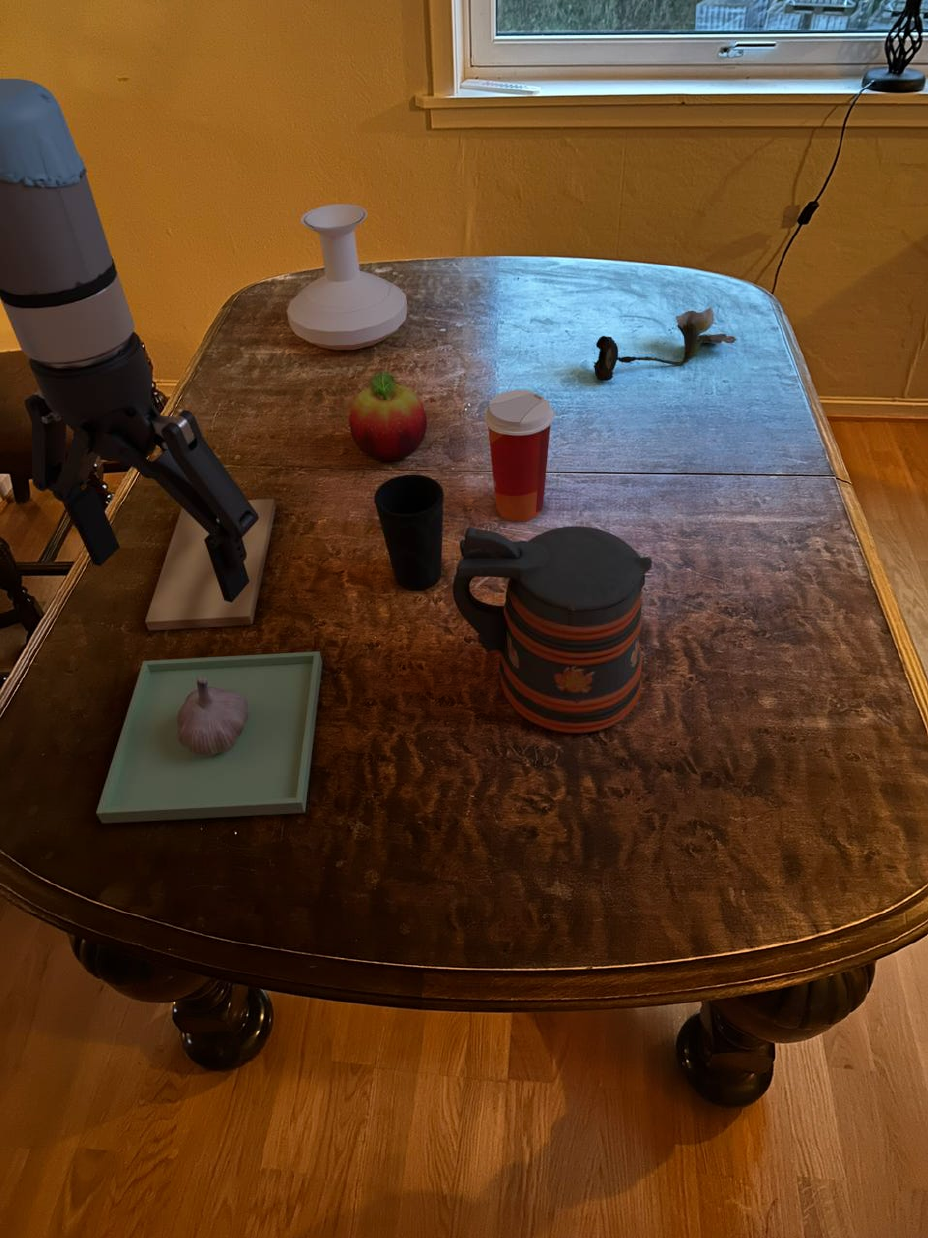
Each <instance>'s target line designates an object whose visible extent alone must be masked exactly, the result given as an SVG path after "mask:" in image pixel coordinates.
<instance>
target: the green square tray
mask: <svg viewBox="0 0 928 1238" xmlns="http://www.w3.org/2000/svg"><path fill="white" fill-rule="evenodd" d="M322 667H323V659H322V655H321V652H320V651H300V652H284V653H282V652H281V653H264V654H247V655H246V654H245V655H244V654H243V655H228V656H209V657H192V658H176V659H175V658H173V659H156V660H143V661H142V665H141V667H140V671H139V674H138V677H137V680H136V682H135V686H134V690H133V693H132V697H131V699H130V702H129V706H128V709H127V712H126V716H125V719H124V722H123V726H122V728H121V732H120V735H119V738H118V742H117V745H116V748H115V751H114V754H113V757H112V760H111V764H110V768H109V770H108V774H107V776H106V780H105V784H104V785H103V786H104V787H103V789H102V792H101V796H100V799H99V803H98V805H97V808H96V812H95V814H96V816H97V817H98V819H99V820H100V822H101V824H120V823H138V822H139V823H140V822H157V821H177V820H198V819H216V818H217V819H218V818H234V817H254V816H273V815H274V816H275V815H287V814H288V815H290V814H291V815H293V814H305V813H306V807H307V798H308V791H309V789H308V788H309V780H310V773H311V764H312V754H313V745H314V739H315V730H316V729H315V728H316V721H317V720H316V719H317V712H318V703H319V695H320V694H319V693H320V685H321V678H322V677H321V676H322V669H323V668H322ZM200 677H204V678H206V679H207V681H208V686H207V687H216V688H219V689H223V690H234V691H237V692H239V693H241V694H242V695H243V696H244V697H245V698H246V700H247V704H248V708H247V709H248V719H247V721H246V723H245V724H244V728H243V731H242V733H241V734H240V736H239V737H238V738H237V740H236V743H235V745H234V747H233V748H232V749H230V750H229V751H227V752H221V753H217V754H215V755H213V756H209V757H204V756H198V755H195V754H193V753H192V752H191V751H190V750H189V749H187V748H185V747H184V746H183V745H182V744H181V743H180V741H179V739H178V724H177V716H178V712H179V710H180V709H181V707H182V706H183V704H184V702H185V700H186V698H187V696H188V695H189V694H190V693H191V692H193V691H195V690H198V686H197V679H198V678H200Z"/></svg>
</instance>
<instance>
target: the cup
mask: <svg viewBox="0 0 928 1238" xmlns="http://www.w3.org/2000/svg"><path fill="white" fill-rule="evenodd" d="M444 494H445V493H444V488H443V487H442V486H441V484H440V483H439V482H438V481H437V480H436V479H434V478H432V477H429V476H427V475H423V474H415V473H414V474H402V475H398V476H395V477H391V478H390V479H388V480H386V481H384V482H383V483H382V484H381V485H379V486H378V488H377V489H376V491H375V493H374V496H373V499H374V505H375V509H376V512H377V516H378V519H379V524H380V527H381V531H382V534H383V538H384V542H385V546H386V550H387V553H388V557H389V561H390V564H391V568H392V573H393V576H394V580H395V581H396V584H397V585H398V586H400V587H401V588H403V589H404V590H408V591H411V592H419V591H420V592H421V591H425V590H428V589H430V588H433V587H434V586H436V585H437V584H438V583H439V582H440V580H441V578H442V566H443V565H442V563H443V532H444V531H443V529H444V526H443V525H444Z"/></svg>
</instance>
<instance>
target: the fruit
mask: <svg viewBox="0 0 928 1238" xmlns="http://www.w3.org/2000/svg"><path fill="white" fill-rule="evenodd" d="M370 385H371V386H369V387H367V388H365V389H363V390H362V391H360V392H359V393H357V395H356V396H355V397H354V400H353V402H352V404H351V406H350V407H351V408H350V412H349V418H348V422H349V423H348V424H349V430H350V435H351V437H352V439H353V442H354V444H356V446H357V447H358V449H360V450H361V451H362V453H363V454H365V455H367V456H369V457H370V458H372V459H374V460H379V461H382V462H393V461H394V462H395V461H400V460H403V459H405V458H407V457H408V456H410V455H412V454H413V453H414V452H415V451H416V450H417V449H418V448H419V447H420V446H421V445H422V443H423V441H424V439H425V436H426V433H427V428H428V417H427V415H426V414H427V413H426V411H425V408H424V407H425V406H424V405H423V402H422V401H421V399H420V397H419V396H418V394H417V393H416V392H414V391H413V390H411V389H410V388H408V387H407V386H404V385H402V384H398V383H395V377H394V376H393V375H391V374H389V373H387V372H386V371H385V370H383V371H381V372H380V373H378V374H377V375H375V376H373V377H372V378H371V380H370Z"/></svg>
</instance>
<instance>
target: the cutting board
mask: <svg viewBox="0 0 928 1238" xmlns="http://www.w3.org/2000/svg"><path fill="white" fill-rule="evenodd" d="M247 500H248V501H249V503H250V504H251V505H252V507H253V508H254V510H255V511H256V512H257V514H258V516H259V519H258V521H257V522H256V523H255V524H254V525H253V526H252V527H251V528H250V530H249V531H248V532H247V533H246V534H245V535H244V536H243V537H242V539H243V543H244V546H245V549H246V553H247V557H246V559H245V560H244V565H245V568H246V571H247V575H248V578H249V581H250V582H249V583H248V584H247V585H246V587H245V588H244V589H243V590H242V591H241V592H240V594H239V595H238V596H237V597H236V598H235V600H234V601H233V602H228V601H224V598H223V595H222V592H221V589H220V586H219V583H218V580H217V577H216V574H215V571H214V568H213V565H212V562H211V559H210V556H209V553H208V550H207V547H206V544H205V541H204V539H205V538H206V537H207V536H208V535H209V533H208V532H207V531H206V530H205V529H204V528H203V527H202V526H201V525H200V524H199V523H198V522H197V521H196V520H195V519H194V518H193V517H192V516H191V515H190V514H189V513H188V512H187V511H186V510H185V509H184V508H183V507H182V506H181V509H180V511H179V514H178V515H179V516H178V518H177V522H176V525H175V528H174V530H173V534H172V537H171V540H170V543H169V547H168V549H167V552H166V556H165V559H164V562H163V565H162V568H161V571H160V574H159V577H158V580H157V583H156V586H155V590H154V593H153V595H152V599H151V601H150V604H149V608H148V612H147V615H146V617H145V621H144V623H145V625H146V628H147V630H148V631H150V632H151V631H166V630H184V629H186V630H187V629H203V628H206V629H207V628H220V627H221V628H222V627H239V626H240V627H241V626H253V623H254V619H255V614H256V609H257V603H258V599H259V594H260V589H261V583H262V579H263V578H262V577H263V573H264V569H265V564H266V558H267V554H268V548H269V543H270V538H271V533H272V529H273V523H274V518H275V514H276V510H277V509H276V508H277V506H276V502H275V499H274V498H263V499H262V498H260V499H247ZM217 522H219V520H218V518H217Z"/></svg>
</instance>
